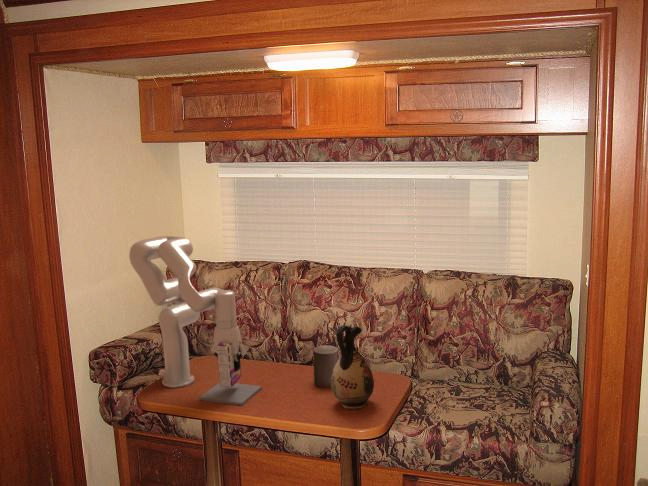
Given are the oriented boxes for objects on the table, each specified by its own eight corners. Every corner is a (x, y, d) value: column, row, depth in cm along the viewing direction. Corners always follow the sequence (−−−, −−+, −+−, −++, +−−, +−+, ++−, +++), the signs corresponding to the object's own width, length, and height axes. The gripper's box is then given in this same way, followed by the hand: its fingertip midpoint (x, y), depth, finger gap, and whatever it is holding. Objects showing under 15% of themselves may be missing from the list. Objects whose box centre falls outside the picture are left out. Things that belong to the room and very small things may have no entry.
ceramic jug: (348, 391, 231) (346, 315, 227) (382, 401, 222) (381, 322, 217) (320, 407, 219) (316, 326, 214) (354, 418, 209) (352, 334, 204)
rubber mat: (199, 399, 229) (199, 397, 229) (221, 383, 244) (221, 381, 244) (242, 405, 223) (241, 403, 222) (261, 388, 237) (261, 386, 237)
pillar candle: (310, 385, 239) (309, 348, 236) (319, 376, 248) (318, 340, 245) (333, 388, 235) (332, 351, 233) (342, 379, 244) (341, 343, 242)
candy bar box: (229, 376, 238) (226, 335, 236) (241, 376, 237) (239, 335, 235) (219, 387, 227) (216, 344, 225) (231, 387, 226) (228, 345, 224)
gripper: (201, 324, 228) (205, 371, 231) (242, 327, 222) (245, 375, 225) (212, 319, 235) (215, 364, 238) (251, 322, 229) (254, 368, 232)
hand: (229, 369), depth 231 cm, fingers closed on candy bar box, 5 cm apart
